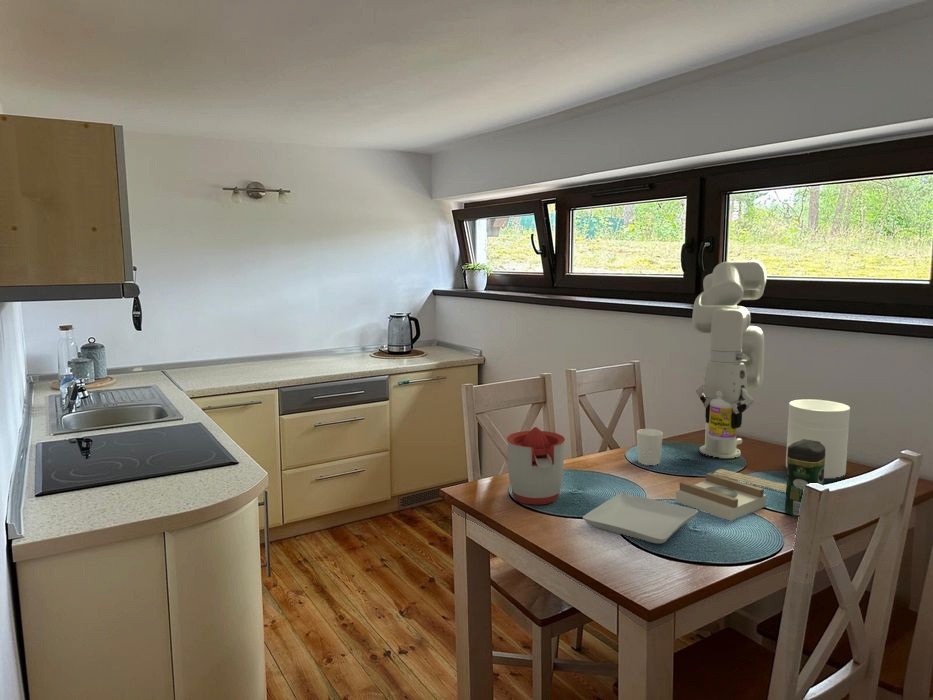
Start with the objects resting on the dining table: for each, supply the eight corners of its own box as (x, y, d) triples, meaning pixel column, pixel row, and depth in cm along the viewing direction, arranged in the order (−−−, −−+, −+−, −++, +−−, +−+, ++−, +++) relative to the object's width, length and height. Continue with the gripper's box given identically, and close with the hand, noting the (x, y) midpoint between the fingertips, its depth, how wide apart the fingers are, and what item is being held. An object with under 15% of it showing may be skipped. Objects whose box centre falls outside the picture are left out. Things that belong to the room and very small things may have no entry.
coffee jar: (792, 503, 166) (796, 435, 164) (825, 511, 161) (830, 440, 158) (779, 514, 160) (783, 443, 157) (814, 523, 154) (818, 449, 152)
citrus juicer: (515, 513, 163) (515, 438, 161) (502, 490, 180) (501, 421, 178) (574, 509, 166) (574, 434, 163) (555, 486, 183) (555, 418, 180)
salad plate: (580, 529, 154) (580, 515, 154) (620, 503, 170) (620, 490, 170) (664, 553, 140) (664, 539, 140) (699, 522, 156) (699, 509, 156)
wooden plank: (712, 477, 189) (713, 472, 189) (723, 472, 194) (724, 466, 194) (796, 498, 172) (796, 492, 172) (806, 491, 177) (806, 485, 176)
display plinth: (711, 488, 178) (712, 471, 177) (766, 506, 165) (767, 487, 164) (675, 501, 169) (676, 483, 168) (730, 521, 156) (730, 501, 155)
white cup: (665, 466, 198) (665, 435, 197) (639, 466, 198) (640, 435, 197) (657, 458, 206) (658, 428, 205) (633, 458, 206) (634, 428, 205)
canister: (857, 472, 189) (862, 407, 186) (822, 481, 182) (826, 413, 179) (808, 458, 203) (811, 397, 201) (774, 466, 196) (777, 403, 194)
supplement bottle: (704, 438, 165) (706, 390, 163) (714, 433, 169) (716, 386, 168) (730, 443, 160) (732, 393, 158) (740, 437, 165) (742, 389, 163)
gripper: (766, 359, 157) (762, 429, 159) (704, 351, 171) (702, 416, 174) (748, 362, 153) (745, 434, 155) (687, 354, 167) (685, 420, 169)
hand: (722, 424), depth 164 cm, fingers closed on supplement bottle, 6 cm apart
